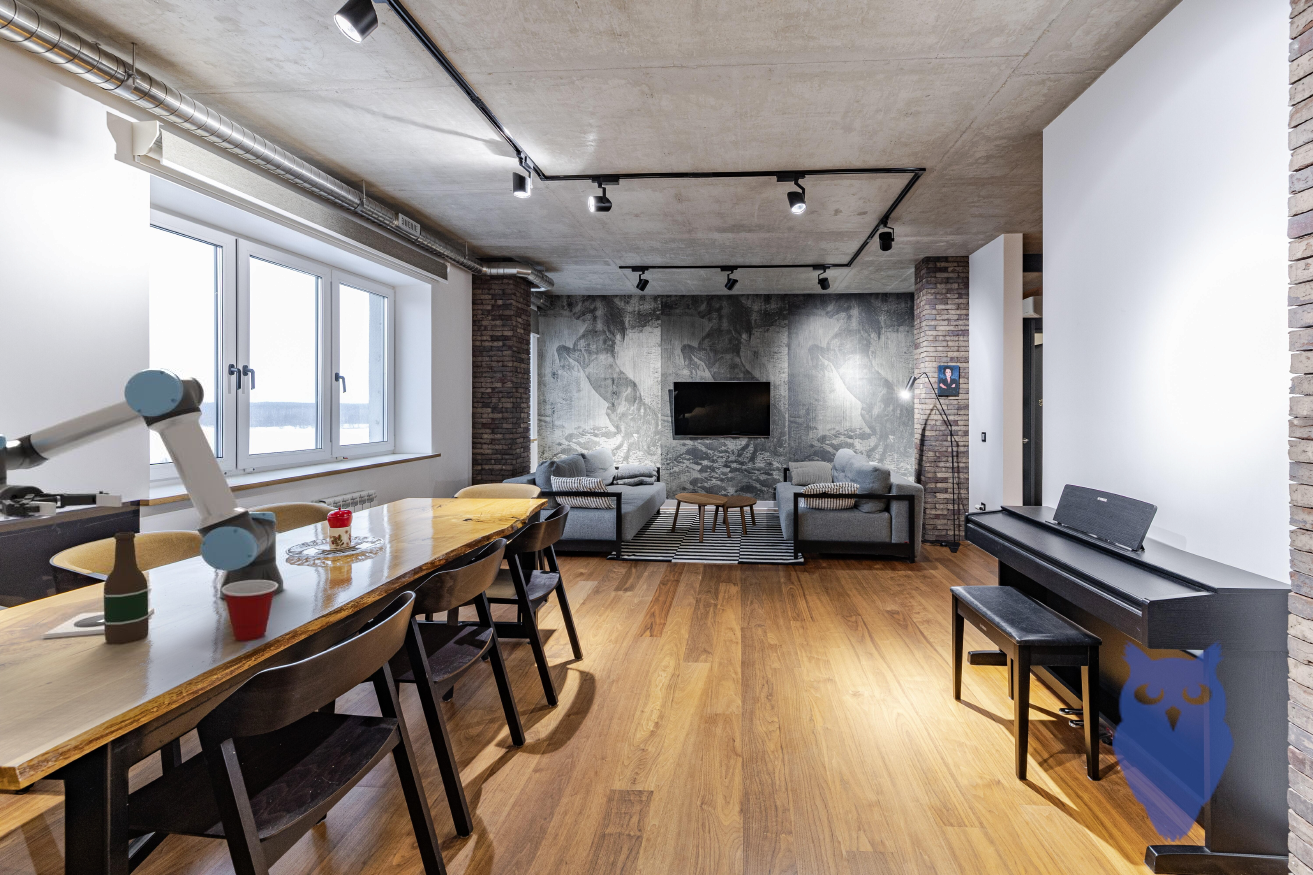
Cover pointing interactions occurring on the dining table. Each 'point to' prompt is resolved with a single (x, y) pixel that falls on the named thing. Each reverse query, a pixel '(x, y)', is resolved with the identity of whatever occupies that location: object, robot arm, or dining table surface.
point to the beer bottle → (125, 595)
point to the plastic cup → (249, 607)
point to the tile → (82, 625)
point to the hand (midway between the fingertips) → (88, 504)
